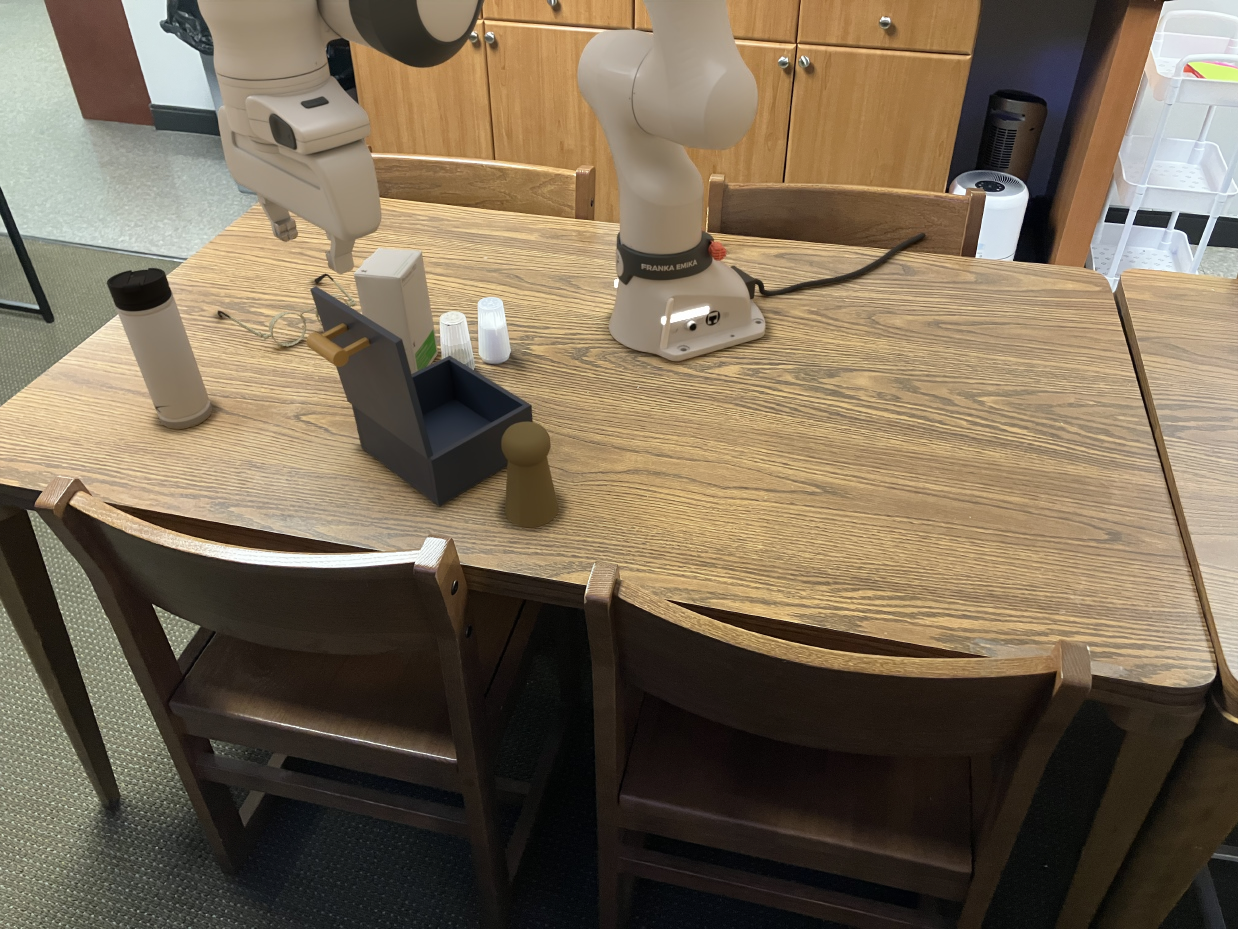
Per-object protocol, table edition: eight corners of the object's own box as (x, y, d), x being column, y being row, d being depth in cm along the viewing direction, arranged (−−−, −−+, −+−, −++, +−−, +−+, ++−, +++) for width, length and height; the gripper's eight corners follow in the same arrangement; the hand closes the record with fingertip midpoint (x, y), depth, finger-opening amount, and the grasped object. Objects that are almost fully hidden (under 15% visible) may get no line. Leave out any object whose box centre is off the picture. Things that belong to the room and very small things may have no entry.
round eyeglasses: (259, 358, 128) (250, 327, 125) (214, 317, 137) (204, 286, 134) (368, 316, 137) (362, 286, 134) (319, 280, 146) (312, 250, 143)
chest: (455, 399, 121) (449, 355, 116) (535, 450, 112) (531, 404, 108) (361, 448, 113) (351, 403, 108) (439, 507, 104) (431, 460, 100)
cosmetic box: (418, 385, 123) (400, 279, 113) (371, 380, 124) (349, 274, 114) (440, 352, 129) (424, 248, 120) (395, 347, 130) (376, 244, 121)
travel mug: (157, 435, 115) (99, 290, 102) (163, 405, 120) (108, 263, 107) (211, 426, 116) (160, 282, 103) (214, 397, 121) (166, 256, 108)
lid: (316, 285, 98) (272, 307, 95) (402, 339, 90) (357, 364, 87) (353, 398, 108) (315, 420, 106) (433, 455, 100) (394, 481, 97)
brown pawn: (530, 484, 107) (523, 406, 100) (569, 506, 104) (565, 427, 97) (493, 511, 104) (483, 433, 97) (532, 535, 101) (526, 455, 94)
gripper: (185, 82, 81) (226, 230, 90) (311, 140, 70) (345, 302, 79) (251, 67, 85) (285, 211, 94) (381, 120, 74) (406, 277, 83)
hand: (313, 253), depth 86 cm, fingers open, 8 cm apart
